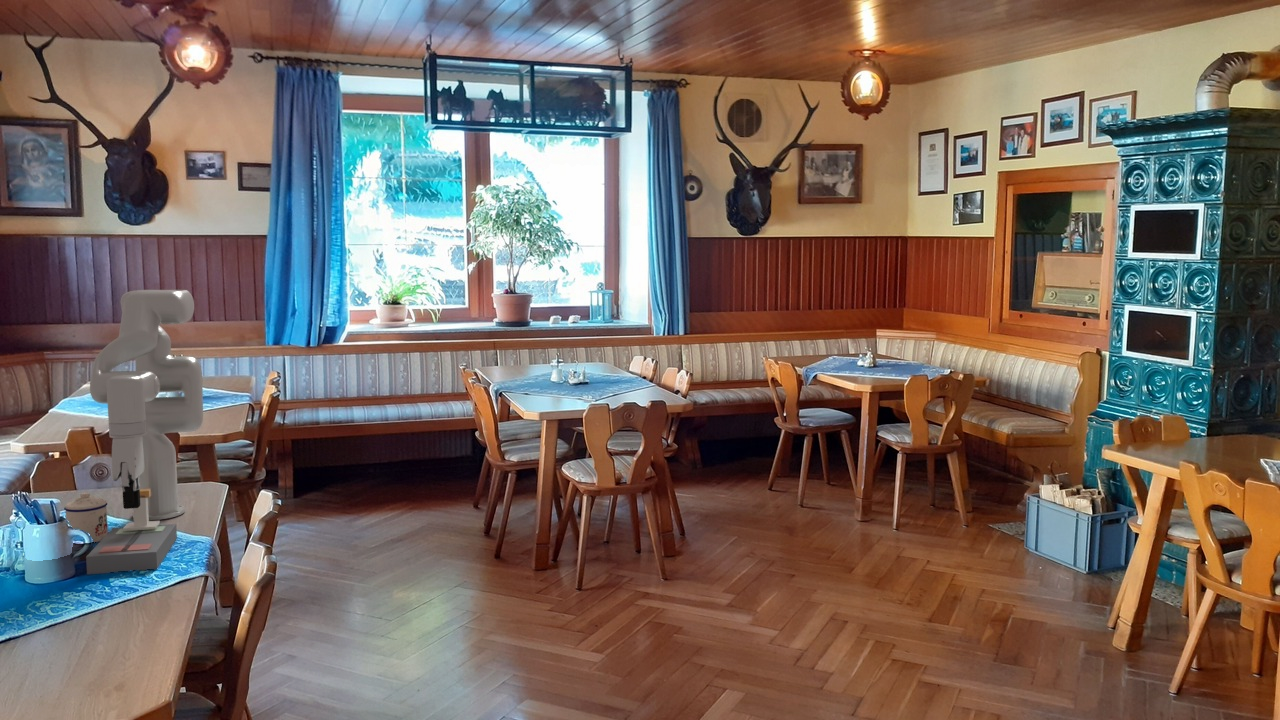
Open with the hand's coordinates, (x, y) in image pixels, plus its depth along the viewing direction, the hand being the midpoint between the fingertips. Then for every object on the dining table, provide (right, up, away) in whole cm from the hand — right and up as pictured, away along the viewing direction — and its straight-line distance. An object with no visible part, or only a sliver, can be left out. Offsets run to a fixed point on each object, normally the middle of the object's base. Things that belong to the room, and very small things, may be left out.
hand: (132, 507), depth 219 cm
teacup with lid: (-18, -10, +15) cm, 26 cm away
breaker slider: (-2, -6, +8) cm, 11 cm away
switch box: (0, -12, +1) cm, 12 cm away
